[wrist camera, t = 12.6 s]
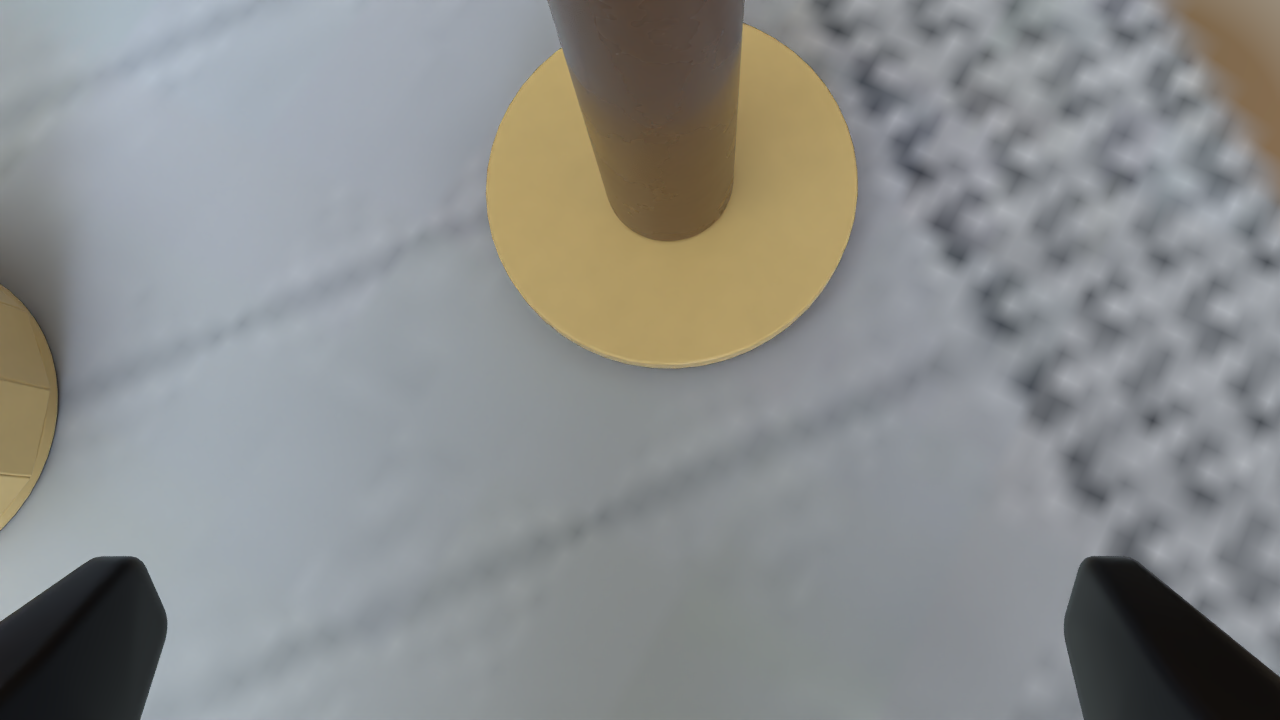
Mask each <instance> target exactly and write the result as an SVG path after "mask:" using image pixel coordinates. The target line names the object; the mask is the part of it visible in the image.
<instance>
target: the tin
mask: <svg viewBox="0 0 1280 720" xmlns="http://www.w3.org/2000/svg"><path fill="white" fill-rule="evenodd" d="M57 405H58V390H57V380H56V371H55V367H54V363H53V359H52V355H51V352H50V349H49V347H48V344H47V341H46V339H45V336H44V334H43V333H42V331H41V329H40V327H39V325H38V324H37V322H36V320H35V319H34V317H33V316H32V315H31V313H30V312H29V311H28V310H27V308H26V307H25V306H24V304H23V303H22V302H21V301H20V300H19V299H18V298H17V297H15V296H14V295H13V294H12V293H11V292H10V291H9V290H8V289H6V288H5V287H3V286H2V285H0V530H1V529H2V528H3V527H4V526H5V525H6V524H7V523H8V522H9V521H10V520H11V518H12V517H13V516H14V515H15V514H16V513H17V511H18V510H19V509H20V507H21V506H22V504H23V503H24V502H25V500H26V499H27V497H28V496H29V494H30V493H31V491H32V489H33V487H34V485H35V484H36V482H37V480H38V478H39V476H40V474H41V472H42V469H43V467H44V464H45V462H46V460H47V457H48V454H49V451H50V447H51V444H52V440H53V437H54V432H55V425H56V419H57Z"/></svg>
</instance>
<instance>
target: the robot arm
mask: <svg viewBox="0 0 1280 720" xmlns="http://www.w3.org/2000/svg"><path fill="white" fill-rule="evenodd" d="M166 634H167V616H166V612H165V609H164V607H163V605H162V602H161V600H160V598H159V596H158V593H157V591H156V589H155V587H154V584H153V582H152V580H151V578H150V575H149V573H148V571H147V569H146V567H145V565H144V563H143V562H142V561H140V560H139V559H138V558H135V557H132V556H101V557H96V558H93V559H91V560H89V561H88V562H86V563H84V564H83V565H81V566H80V567H79V568H77V569H76V570H74V571H73V572H71V573H70V574H68V575H67V576H66V577H64V578H63V579H61V580H60V581H58V582H57V583H55V584H54V585H53V586H51V587H50V588H48V589H47V590H45V591H44V592H42V593H41V594H40V595H38V596H37V597H35V598H34V599H32V600H31V601H30V602H28V603H27V604H25V605H24V606H22V607H21V608H19V609H18V610H17V611H15V612H14V613H12V614H11V615H9V616H8V617H6V618H5V619H4V620H2V621H1V622H0V720H140V718H141V715H142V712H143V709H144V706H145V703H146V699H147V696H148V693H149V690H150V687H151V684H152V680H153V677H154V674H155V671H156V668H157V664H158V661H159V658H160V655H161V652H162V649H163V645H164V642H165V639H166ZM1064 635H1065V642H1066V647H1067V651H1068V655H1069V659H1070V663H1071V667H1072V672H1073V676H1074V680H1075V684H1076V688H1077V693H1078V697H1079V701H1080V705H1081V709H1082V714H1083V718H1084V720H1280V677H1279V676H1278V675H1276V674H1275V673H1274V672H1273V671H1272V670H1270V669H1269V668H1268V667H1267V666H1265V665H1264V664H1263V663H1262V662H1261V661H1259V660H1258V659H1257V658H1256V657H1254V656H1253V655H1252V654H1251V653H1249V652H1248V651H1247V650H1246V649H1245V648H1243V647H1242V646H1241V645H1240V644H1238V643H1237V642H1236V641H1235V640H1233V639H1232V638H1231V637H1230V636H1229V635H1227V634H1226V633H1225V632H1224V631H1222V630H1221V629H1220V628H1219V627H1218V626H1216V625H1215V624H1214V623H1213V622H1211V621H1210V620H1209V619H1208V618H1206V617H1205V616H1204V615H1203V614H1202V613H1200V612H1199V611H1198V610H1197V609H1195V608H1194V607H1193V606H1192V605H1190V604H1189V603H1188V602H1187V601H1186V600H1184V599H1183V598H1182V597H1181V596H1179V595H1178V594H1177V593H1176V592H1174V591H1173V590H1172V589H1171V588H1170V587H1168V586H1167V585H1166V584H1165V583H1163V582H1162V581H1161V580H1160V579H1159V578H1157V577H1156V576H1155V575H1154V574H1152V573H1151V572H1150V571H1149V570H1147V569H1146V568H1145V567H1144V566H1143V565H1141V564H1140V563H1139V562H1137V561H1136V560H1134V559H1132V558H1129V557H1125V556H1091V557H1088V558H1086V559H1084V560H1083V561H1082V563H1081V564H1080V567H1079V569H1078V572H1077V576H1076V579H1075V583H1074V586H1073V589H1072V593H1071V596H1070V600H1069V603H1068V607H1067V610H1066V614H1065V618H1064Z"/></svg>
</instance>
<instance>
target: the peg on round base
mask: <svg viewBox="0 0 1280 720" xmlns="http://www.w3.org/2000/svg"><path fill="white" fill-rule="evenodd" d="M547 1H548V4H549V7H550V10H551V14H552V17H553V20H554V24H555V27H556V30H557V33H558V37H559V40H560V43H561V47H562V48H561V49H559V50H558V51H556V52H555V53H554V54H553V55H552V56H550V57H549V58H548V59H547V60H546V61H545V62H544V63H543V64H542V65H540V66H539V67H538V68H537V69H536V70H535V72H534V73H533V74H532V75H531V76H530V77H529V79H528V80H527V81H526V82H525V83H524V84H523V85H522V87H521V88H520V90H519V91H518V93H517V94H516V96H515V97H514V99H513V100H512V102H511V103H510V105H509V107H508V109H507V111H506V113H505V115H504V117H503V119H502V121H501V123H500V125H499V128H498V131H497V134H496V137H495V140H494V142H493V145H492V149H491V154H490V159H489V164H488V169H487V183H486V201H487V215H488V220H489V225H490V229H491V234H492V239H493V241H494V244H495V247H496V250H497V252H498V255H499V258H500V260H501V262H502V264H503V266H504V268H505V270H506V272H507V274H508V276H509V277H510V279H511V281H512V282H513V284H514V285H515V287H516V288H517V289H518V291H519V292H520V294H521V295H522V296H523V298H524V299H525V301H526V302H527V303H528V304H529V305H530V306H531V307H532V309H533V310H534V311H535V312H536V313H537V314H538V315H539V316H540V317H541V318H542V319H543V320H544V321H545V322H546V323H547V324H549V325H550V326H551V327H552V328H554V329H555V330H556V331H557V332H559V333H560V334H561V335H562V336H564V337H566V338H567V339H569V340H571V341H572V342H574V343H576V344H577V345H579V346H580V347H582V348H584V349H586V350H589V351H591V352H593V353H596V354H598V355H600V356H602V357H605V358H608V359H611V360H615V361H618V362H622V363H625V364H629V365H636V366H643V367H649V368H676V369H678V368H687V367H696V366H703V365H708V364H712V363H716V362H720V361H724V360H727V359H730V358H733V357H735V356H738V355H740V354H743V353H746V352H748V351H750V350H752V349H754V348H756V347H758V346H760V345H761V344H763V343H765V342H767V341H769V340H771V339H772V338H774V337H775V336H776V335H778V334H779V333H780V332H782V331H783V330H785V329H786V328H787V327H789V326H790V325H791V324H792V323H793V322H795V321H796V320H797V319H798V318H799V317H800V316H801V315H802V314H803V313H804V312H805V311H806V310H807V309H808V308H809V307H810V306H811V305H812V303H813V302H814V301H815V300H816V298H817V297H818V296H819V295H820V293H821V292H822V291H823V290H824V288H825V287H826V285H827V283H828V282H829V280H830V278H831V277H832V275H833V273H834V272H835V270H836V268H837V266H838V264H839V262H840V259H841V257H842V255H843V252H844V250H845V248H846V245H847V243H848V240H849V237H850V233H851V229H852V226H853V222H854V219H855V211H856V204H857V196H858V177H857V165H856V158H855V151H854V147H853V143H852V140H851V136H850V133H849V130H848V126H847V124H846V122H845V119H844V117H843V115H842V113H841V111H840V108H839V106H838V104H837V103H836V101H835V99H834V98H833V96H832V95H831V93H830V91H829V90H828V88H827V87H826V85H825V84H824V83H823V82H822V80H821V79H820V78H819V77H818V76H817V74H816V73H815V72H814V71H813V70H812V68H811V67H810V66H809V65H808V64H806V63H805V62H804V61H803V60H802V59H801V58H800V57H799V56H798V55H797V54H796V53H795V52H793V51H792V50H791V49H789V48H788V47H786V46H785V45H784V44H782V43H781V42H779V41H778V40H776V39H775V38H773V37H771V36H770V35H768V34H766V33H764V32H762V31H760V30H758V29H756V28H754V27H752V26H749V25H747V24H744V23H743V15H744V0H547Z"/></svg>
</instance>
